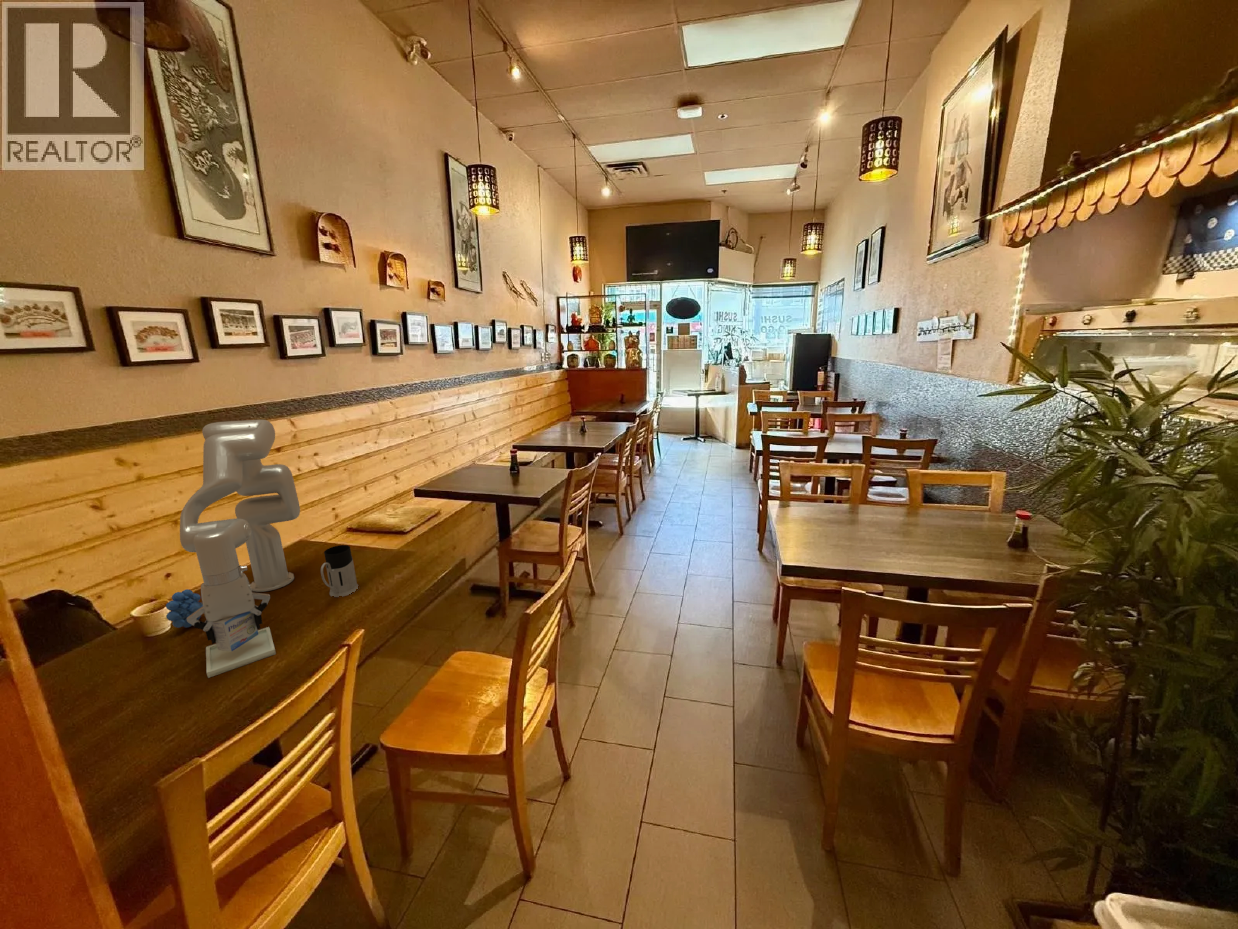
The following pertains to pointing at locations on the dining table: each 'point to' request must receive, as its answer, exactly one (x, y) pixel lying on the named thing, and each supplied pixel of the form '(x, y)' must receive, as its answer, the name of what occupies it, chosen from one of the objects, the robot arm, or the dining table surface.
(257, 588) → the robot arm
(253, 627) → the medicine box
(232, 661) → the tray
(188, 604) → the grapes
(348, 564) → the glass holder
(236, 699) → the dining table surface
